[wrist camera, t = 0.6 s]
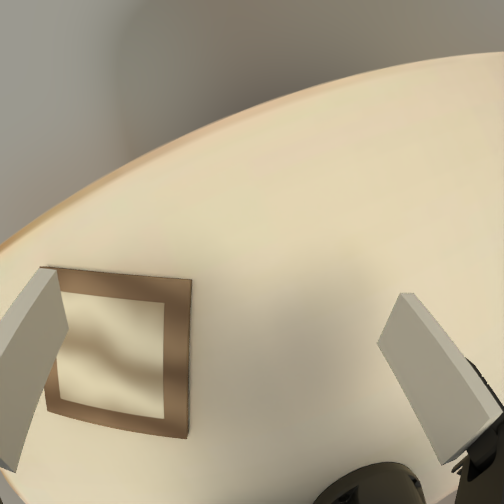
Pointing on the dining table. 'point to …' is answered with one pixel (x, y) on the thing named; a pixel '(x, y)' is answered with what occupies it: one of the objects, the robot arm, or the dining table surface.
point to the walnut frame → (123, 352)
